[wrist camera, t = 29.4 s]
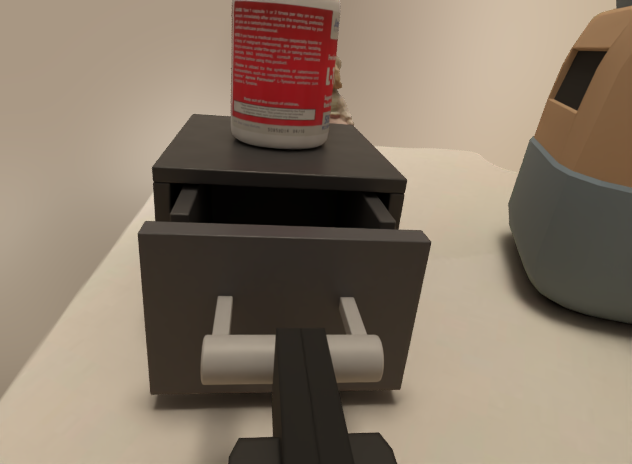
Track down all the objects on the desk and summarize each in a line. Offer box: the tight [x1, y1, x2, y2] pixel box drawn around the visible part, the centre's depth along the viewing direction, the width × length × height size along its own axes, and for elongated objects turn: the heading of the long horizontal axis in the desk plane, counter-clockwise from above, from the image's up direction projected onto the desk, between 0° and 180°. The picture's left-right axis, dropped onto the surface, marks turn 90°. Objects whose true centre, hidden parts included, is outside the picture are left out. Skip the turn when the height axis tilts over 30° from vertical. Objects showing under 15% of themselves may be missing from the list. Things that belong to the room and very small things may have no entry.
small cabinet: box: [152, 114, 407, 230], centre depth 31 cm, size 15×13×10 cm
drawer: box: [138, 183, 431, 395], centre depth 23 cm, size 18×11×8 cm, turn 7°
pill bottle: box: [231, 0, 340, 149], centre depth 26 cm, size 6×6×11 cm
